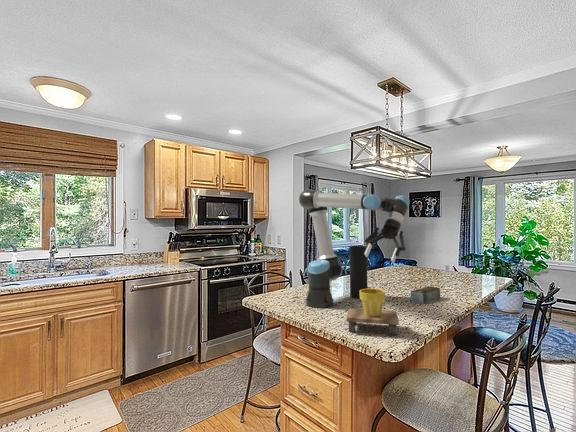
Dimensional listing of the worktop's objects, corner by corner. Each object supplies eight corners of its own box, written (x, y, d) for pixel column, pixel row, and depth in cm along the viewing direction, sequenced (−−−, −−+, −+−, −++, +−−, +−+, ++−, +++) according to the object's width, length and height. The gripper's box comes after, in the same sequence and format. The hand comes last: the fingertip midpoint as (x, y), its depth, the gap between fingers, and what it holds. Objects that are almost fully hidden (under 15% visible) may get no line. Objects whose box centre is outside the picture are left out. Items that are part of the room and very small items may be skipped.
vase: (346, 297, 185) (346, 246, 185) (355, 293, 193) (354, 245, 193) (362, 299, 178) (361, 247, 179) (370, 296, 186) (369, 246, 187)
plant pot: (358, 316, 126) (357, 292, 127) (361, 310, 136) (361, 287, 136) (384, 319, 123) (384, 294, 123) (386, 312, 132) (385, 289, 133)
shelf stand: (346, 332, 125) (346, 317, 125) (349, 321, 139) (349, 308, 139) (399, 336, 120) (398, 321, 120) (396, 325, 133) (396, 311, 133)
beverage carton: (410, 301, 173) (409, 289, 174) (427, 296, 185) (427, 285, 185) (423, 304, 167) (423, 292, 167) (441, 298, 179) (440, 287, 179)
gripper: (420, 230, 150) (406, 268, 142) (373, 223, 167) (358, 257, 159) (416, 221, 146) (402, 259, 138) (368, 215, 162) (353, 249, 154)
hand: (378, 258), depth 148 cm, fingers open, 13 cm apart
